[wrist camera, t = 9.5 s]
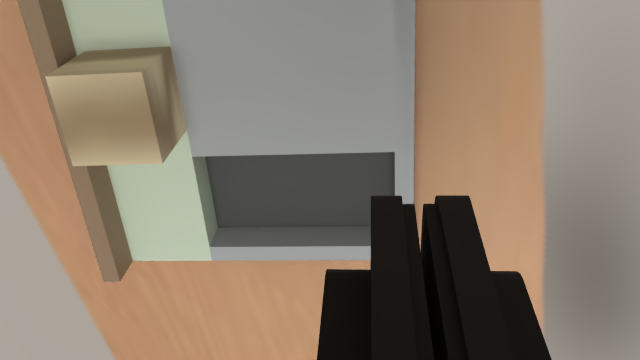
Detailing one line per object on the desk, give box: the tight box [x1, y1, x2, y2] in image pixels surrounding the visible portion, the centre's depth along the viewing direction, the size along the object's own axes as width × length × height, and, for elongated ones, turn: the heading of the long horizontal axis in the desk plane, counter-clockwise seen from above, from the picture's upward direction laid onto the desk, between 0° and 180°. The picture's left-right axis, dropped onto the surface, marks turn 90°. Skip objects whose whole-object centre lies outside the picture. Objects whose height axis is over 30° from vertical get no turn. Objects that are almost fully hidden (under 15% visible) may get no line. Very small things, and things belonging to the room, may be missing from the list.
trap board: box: [17, 0, 415, 281], centre depth 30 cm, size 23×18×4 cm
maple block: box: [45, 47, 187, 166], centre depth 29 cm, size 4×4×4 cm
